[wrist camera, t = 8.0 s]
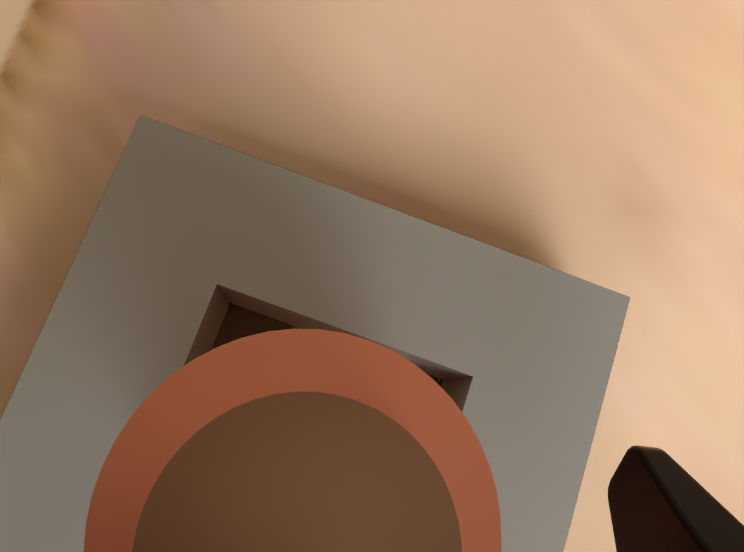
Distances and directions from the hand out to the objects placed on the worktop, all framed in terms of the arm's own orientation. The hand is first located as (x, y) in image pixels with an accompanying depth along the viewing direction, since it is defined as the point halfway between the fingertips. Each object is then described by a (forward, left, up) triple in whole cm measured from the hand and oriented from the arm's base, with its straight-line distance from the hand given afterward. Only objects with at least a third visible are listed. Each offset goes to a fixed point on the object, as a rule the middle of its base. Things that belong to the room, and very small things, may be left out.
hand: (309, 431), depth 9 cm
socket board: (-1, 0, -8) cm, 8 cm away
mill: (-1, 0, -8) cm, 8 cm away
